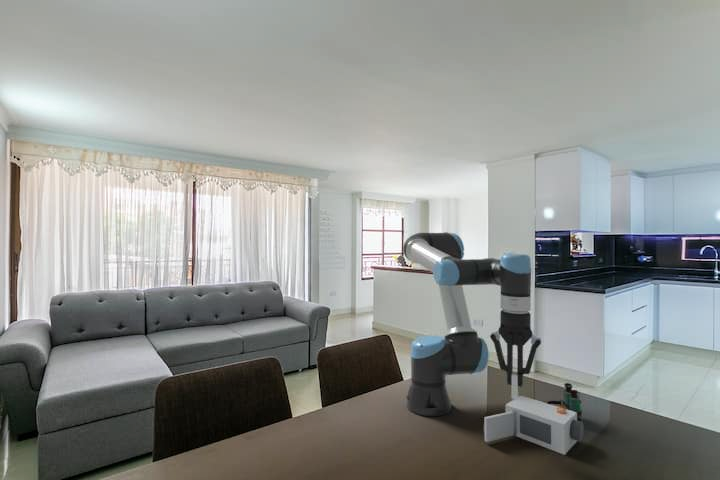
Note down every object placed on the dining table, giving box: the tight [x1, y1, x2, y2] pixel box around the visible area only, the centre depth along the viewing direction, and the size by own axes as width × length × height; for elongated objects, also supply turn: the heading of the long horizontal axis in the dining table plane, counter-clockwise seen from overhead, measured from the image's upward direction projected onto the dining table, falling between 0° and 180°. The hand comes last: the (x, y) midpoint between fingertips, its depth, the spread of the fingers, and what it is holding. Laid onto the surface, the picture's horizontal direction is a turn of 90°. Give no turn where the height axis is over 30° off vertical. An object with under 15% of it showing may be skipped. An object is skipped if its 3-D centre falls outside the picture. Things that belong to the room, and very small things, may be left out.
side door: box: [483, 411, 516, 443], centre depth 103 cm, size 11×2×6 cm, turn 111°
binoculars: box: [546, 382, 584, 424], centre depth 115 cm, size 9×11×10 cm
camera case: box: [505, 394, 585, 456], centre depth 104 cm, size 18×10×9 cm, turn 42°
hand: (514, 396), depth 99 cm, fingers closed
